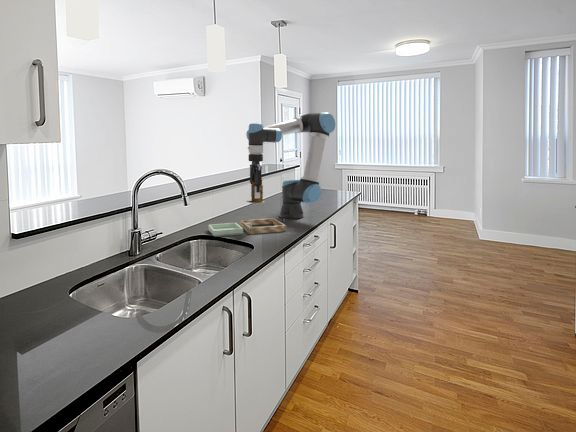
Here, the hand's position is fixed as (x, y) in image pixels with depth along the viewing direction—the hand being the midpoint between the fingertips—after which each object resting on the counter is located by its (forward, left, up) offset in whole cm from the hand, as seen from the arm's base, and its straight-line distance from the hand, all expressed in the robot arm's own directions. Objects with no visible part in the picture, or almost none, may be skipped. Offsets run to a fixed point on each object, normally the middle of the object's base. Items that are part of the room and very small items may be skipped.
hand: (255, 197), depth 216 cm
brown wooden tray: (-4, -1, -17) cm, 18 cm away
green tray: (+17, +1, -17) cm, 24 cm away
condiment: (0, 0, -3) cm, 3 cm away
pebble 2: (-11, +5, -18) cm, 21 cm away
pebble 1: (+2, -6, -18) cm, 19 cm away
